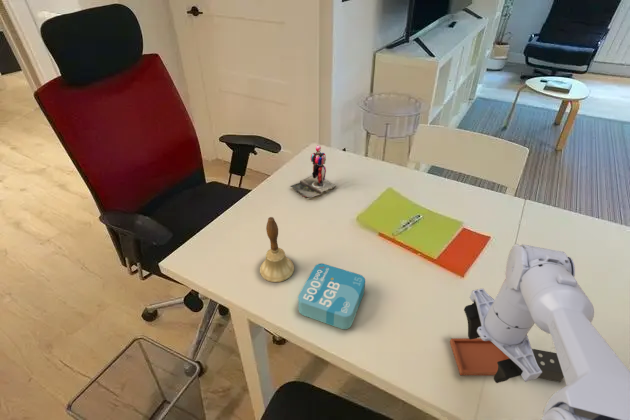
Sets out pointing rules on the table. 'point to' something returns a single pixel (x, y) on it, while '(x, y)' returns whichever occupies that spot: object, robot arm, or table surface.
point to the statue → (315, 177)
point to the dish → (476, 356)
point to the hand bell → (275, 258)
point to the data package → (332, 295)
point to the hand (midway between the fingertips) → (486, 357)
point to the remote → (548, 365)
